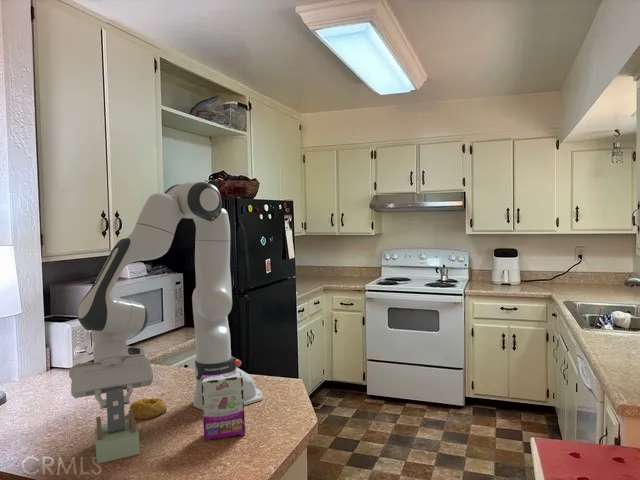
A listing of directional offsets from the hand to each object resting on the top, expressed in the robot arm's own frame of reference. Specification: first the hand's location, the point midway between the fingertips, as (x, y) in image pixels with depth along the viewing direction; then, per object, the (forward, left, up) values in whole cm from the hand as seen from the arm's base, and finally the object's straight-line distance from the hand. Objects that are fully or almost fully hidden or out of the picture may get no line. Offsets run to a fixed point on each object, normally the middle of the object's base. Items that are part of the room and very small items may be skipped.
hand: (115, 405), depth 126 cm
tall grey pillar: (0, -1, -6) cm, 6 cm away
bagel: (-10, -21, -12) cm, 27 cm away
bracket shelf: (0, -1, -12) cm, 12 cm away
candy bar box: (-27, +5, -12) cm, 30 cm away
